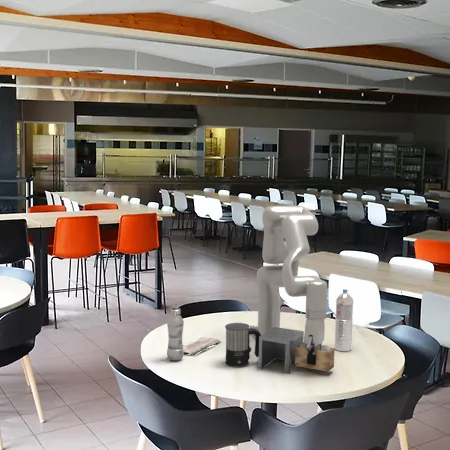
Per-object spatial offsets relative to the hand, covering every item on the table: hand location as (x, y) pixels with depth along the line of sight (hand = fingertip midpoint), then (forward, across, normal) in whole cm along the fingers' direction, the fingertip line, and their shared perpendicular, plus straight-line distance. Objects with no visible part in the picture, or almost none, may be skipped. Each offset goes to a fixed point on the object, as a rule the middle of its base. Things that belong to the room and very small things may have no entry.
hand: (314, 361), depth 233 cm
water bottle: (+4, -31, +2) cm, 31 cm away
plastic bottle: (+4, +14, -51) cm, 53 cm away
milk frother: (+4, +3, -30) cm, 30 cm away
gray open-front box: (+4, 0, -13) cm, 14 cm away
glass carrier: (+2, 0, 0) cm, 2 cm away
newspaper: (+4, -4, -51) cm, 51 cm away
